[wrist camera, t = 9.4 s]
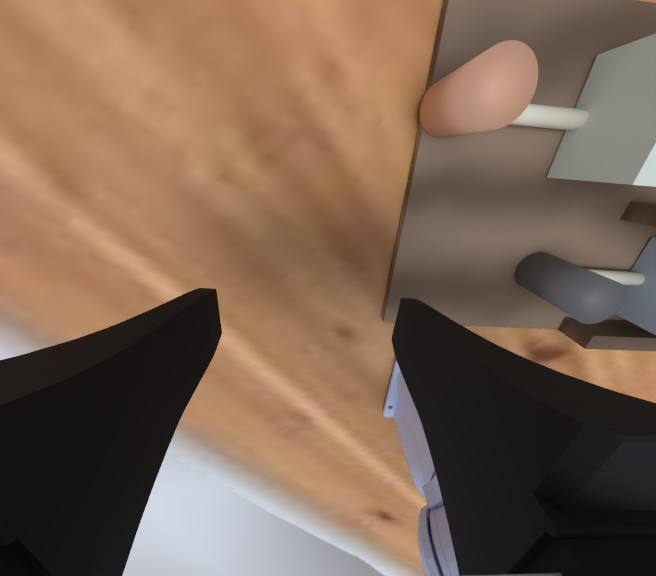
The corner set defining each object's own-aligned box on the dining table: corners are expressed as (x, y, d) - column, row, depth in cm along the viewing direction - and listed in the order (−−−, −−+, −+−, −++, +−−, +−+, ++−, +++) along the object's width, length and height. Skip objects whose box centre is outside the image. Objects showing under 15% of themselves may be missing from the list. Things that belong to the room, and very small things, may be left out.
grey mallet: (672, 312, 22) (766, 352, 17) (501, 304, 21) (553, 344, 16) (727, 242, 19) (855, 268, 14) (534, 228, 18) (606, 252, 13)
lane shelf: (684, 329, 24) (737, 354, 21) (381, 316, 22) (391, 341, 19) (918, 48, 15) (1067, 21, 12) (446, -15, 13) (484, -65, 10)
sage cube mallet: (633, 184, 17) (748, 194, 12) (408, 166, 16) (445, 169, 11) (699, 67, 14) (875, 24, 10) (434, 35, 13) (494, -28, 9)
